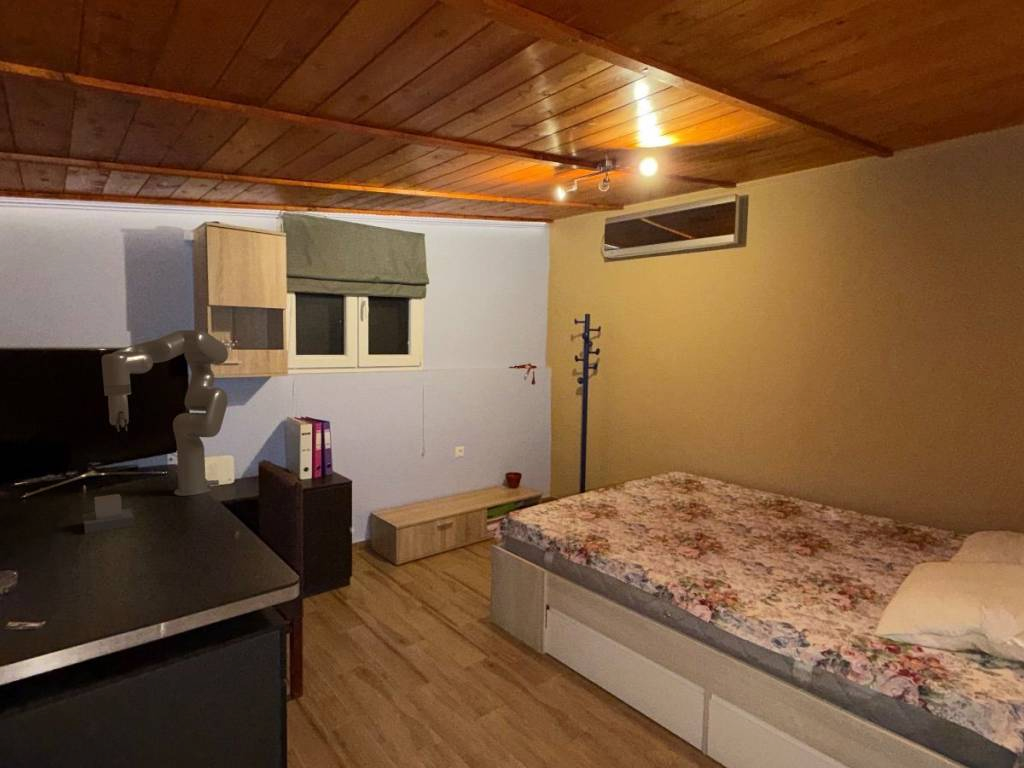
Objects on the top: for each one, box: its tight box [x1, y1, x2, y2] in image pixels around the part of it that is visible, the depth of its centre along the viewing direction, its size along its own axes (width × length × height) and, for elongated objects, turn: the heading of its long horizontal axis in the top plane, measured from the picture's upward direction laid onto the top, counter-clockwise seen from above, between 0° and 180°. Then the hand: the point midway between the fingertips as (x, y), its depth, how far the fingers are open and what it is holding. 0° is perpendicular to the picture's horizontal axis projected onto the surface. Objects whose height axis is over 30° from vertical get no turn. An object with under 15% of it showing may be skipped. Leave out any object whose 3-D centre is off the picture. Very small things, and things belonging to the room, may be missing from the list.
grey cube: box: [94, 493, 123, 520], centre depth 196 cm, size 7×7×6 cm
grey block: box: [82, 508, 135, 534], centre depth 196 cm, size 13×13×7 cm
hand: (121, 440), depth 206 cm, fingers open, 9 cm apart
